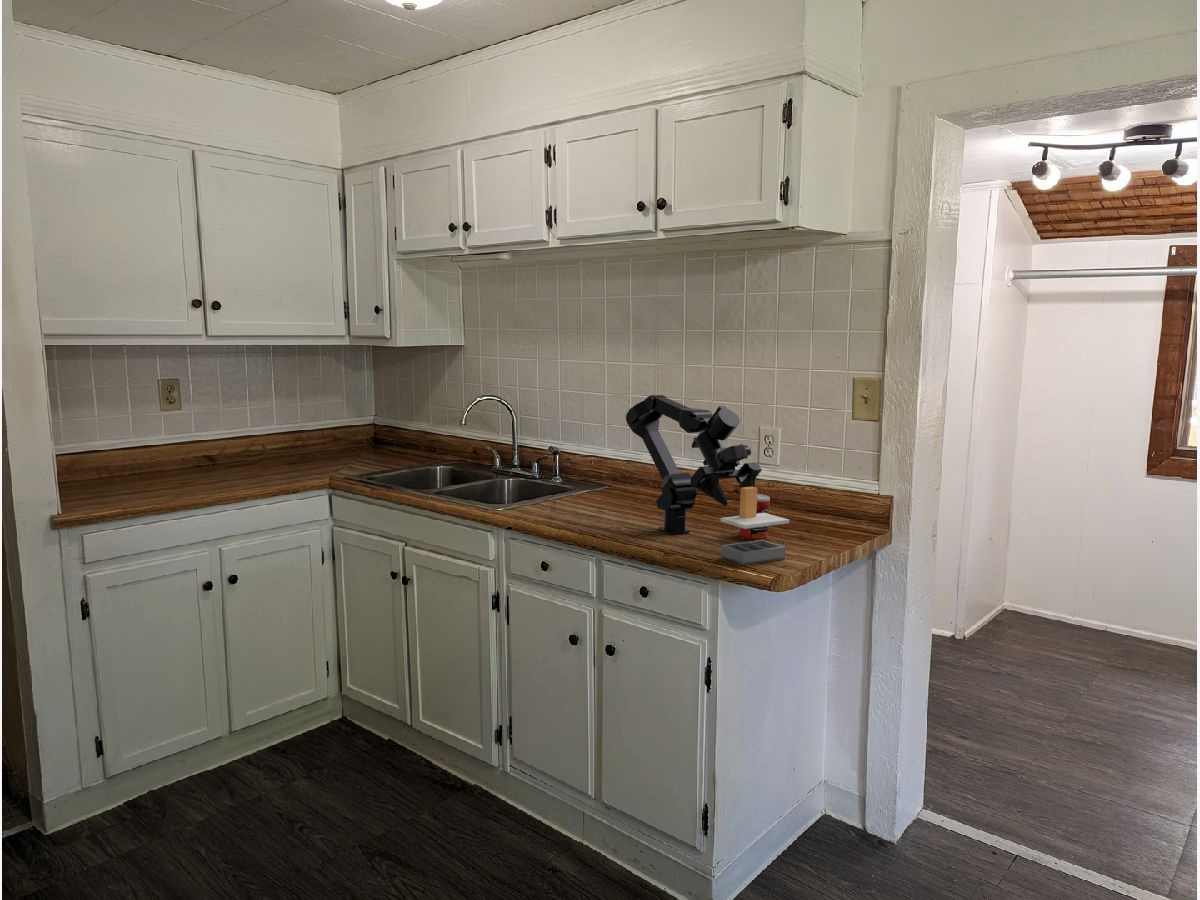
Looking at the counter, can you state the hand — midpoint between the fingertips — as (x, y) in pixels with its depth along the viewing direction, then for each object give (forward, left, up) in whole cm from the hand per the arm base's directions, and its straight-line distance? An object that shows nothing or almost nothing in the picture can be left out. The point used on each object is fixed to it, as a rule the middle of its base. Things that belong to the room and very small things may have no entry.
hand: (741, 503), depth 206 cm
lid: (+5, +1, -3) cm, 6 cm away
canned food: (-13, +12, -13) cm, 22 cm away
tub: (+5, +1, -12) cm, 13 cm away
